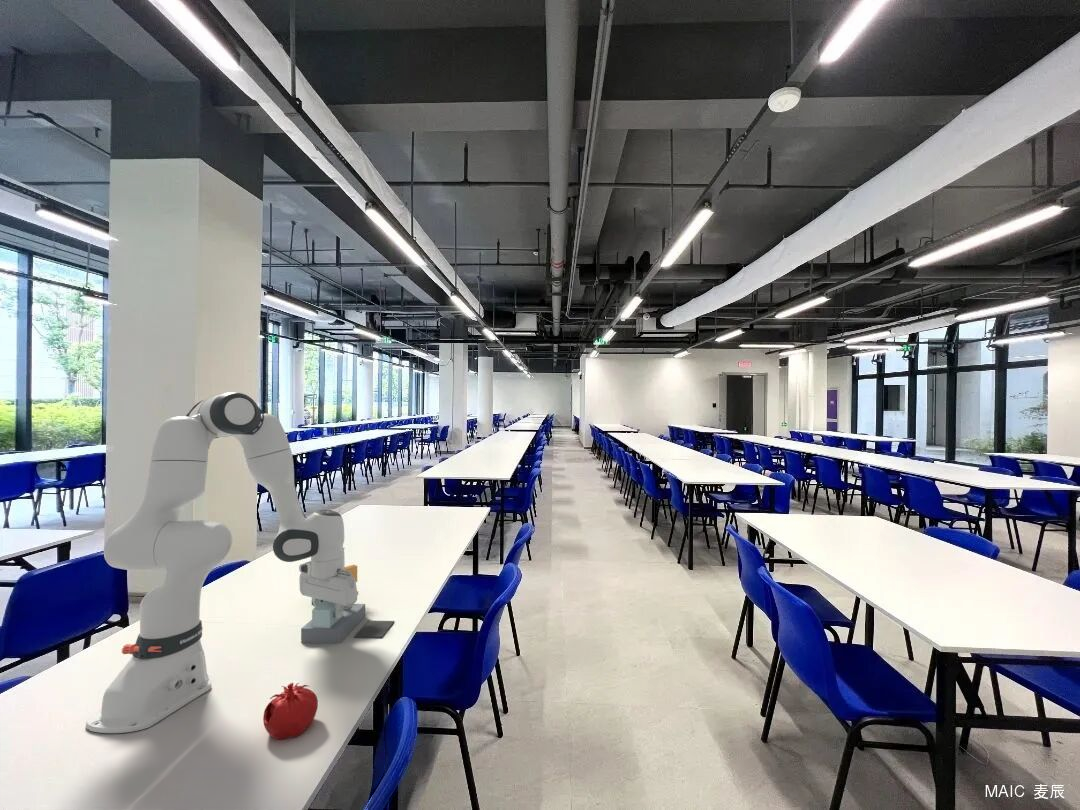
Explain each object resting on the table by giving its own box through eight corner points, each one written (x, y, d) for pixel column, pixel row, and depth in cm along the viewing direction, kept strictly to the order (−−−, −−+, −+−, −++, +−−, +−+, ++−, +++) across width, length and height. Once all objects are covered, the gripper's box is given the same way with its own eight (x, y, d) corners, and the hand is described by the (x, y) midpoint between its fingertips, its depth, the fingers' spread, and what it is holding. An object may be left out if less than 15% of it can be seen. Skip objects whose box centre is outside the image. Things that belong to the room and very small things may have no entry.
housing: (339, 643, 132) (339, 627, 132) (301, 642, 133) (301, 627, 133) (365, 616, 149) (365, 602, 149) (331, 616, 150) (330, 602, 150)
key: (367, 608, 145) (367, 569, 145) (342, 617, 139) (342, 577, 139) (354, 601, 150) (353, 564, 150) (329, 609, 144) (329, 571, 144)
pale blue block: (329, 628, 133) (329, 610, 133) (312, 627, 133) (312, 609, 133) (343, 615, 141) (343, 598, 141) (326, 615, 141) (326, 598, 141)
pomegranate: (325, 712, 103) (326, 669, 103) (304, 745, 93) (305, 696, 93) (278, 713, 102) (279, 669, 102) (252, 745, 92) (253, 696, 92)
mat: (381, 638, 135) (381, 636, 135) (354, 637, 136) (354, 636, 136) (394, 622, 145) (394, 620, 145) (368, 621, 146) (368, 620, 146)
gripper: (362, 568, 135) (362, 617, 135) (314, 558, 145) (314, 604, 145) (344, 575, 130) (344, 626, 130) (295, 565, 139) (295, 612, 139)
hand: (328, 615), depth 137 cm, fingers closed on pale blue block, 6 cm apart
